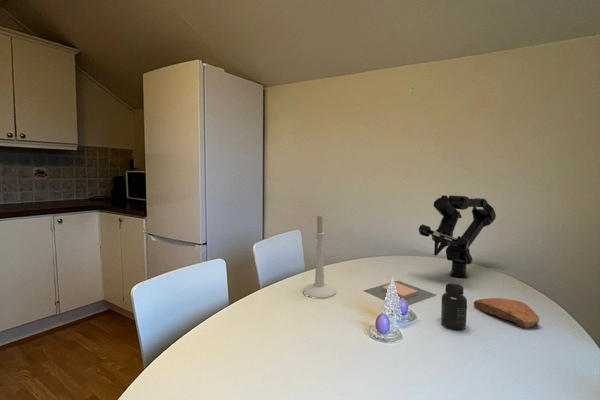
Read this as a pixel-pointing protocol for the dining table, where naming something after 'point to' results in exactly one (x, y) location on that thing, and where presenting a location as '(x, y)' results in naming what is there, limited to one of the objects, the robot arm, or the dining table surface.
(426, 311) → the dining table surface
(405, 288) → the tile
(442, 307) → the supplement bottle
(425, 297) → the mat
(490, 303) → the ceramic shard
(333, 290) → the candlestick
